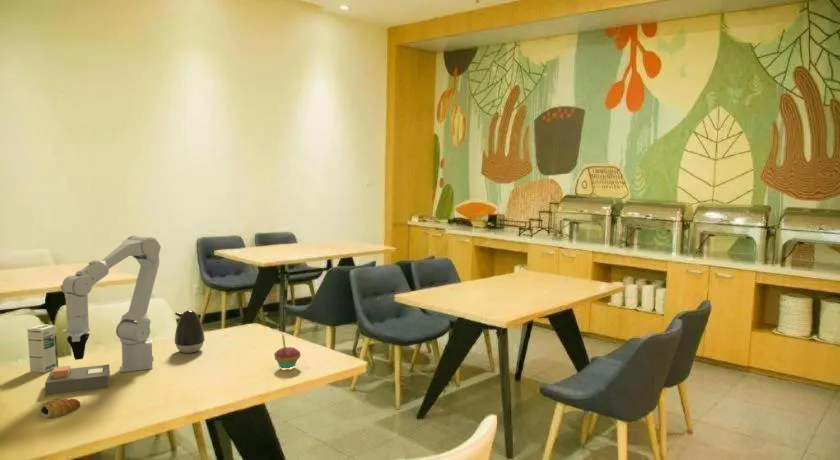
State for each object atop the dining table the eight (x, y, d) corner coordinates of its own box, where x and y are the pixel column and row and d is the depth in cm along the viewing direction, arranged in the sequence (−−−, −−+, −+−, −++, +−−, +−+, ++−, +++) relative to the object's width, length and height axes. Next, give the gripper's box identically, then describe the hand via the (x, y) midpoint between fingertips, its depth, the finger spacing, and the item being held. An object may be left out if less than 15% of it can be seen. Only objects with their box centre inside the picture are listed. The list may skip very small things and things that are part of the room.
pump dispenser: (183, 346, 221) (182, 306, 219) (209, 347, 219) (209, 307, 218) (168, 354, 211) (167, 313, 209) (195, 356, 209) (194, 314, 208)
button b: (70, 376, 180) (69, 365, 180) (68, 381, 176) (68, 369, 176) (55, 378, 178) (54, 367, 178) (53, 383, 175) (52, 371, 174)
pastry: (72, 403, 167) (72, 391, 166) (86, 409, 163) (85, 396, 163) (37, 415, 159) (36, 401, 158) (50, 421, 155) (49, 407, 155)
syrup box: (44, 373, 190) (42, 329, 189) (29, 371, 191) (26, 328, 190) (58, 367, 196) (56, 324, 194) (43, 365, 197) (41, 323, 195)
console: (109, 376, 188) (109, 364, 187) (107, 388, 178) (107, 375, 178) (51, 383, 181) (50, 370, 181) (45, 396, 171) (45, 382, 171)
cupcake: (269, 370, 196) (269, 335, 195) (284, 362, 204) (284, 329, 203) (291, 374, 193) (290, 338, 192) (305, 366, 201) (305, 332, 199)
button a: (103, 378, 184) (103, 367, 184) (102, 382, 180) (102, 371, 180) (89, 380, 182) (88, 369, 182) (87, 384, 179) (87, 373, 178)
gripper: (64, 310, 182) (66, 353, 184) (59, 321, 169) (60, 367, 171) (90, 309, 185) (92, 350, 187) (87, 319, 172) (88, 364, 174)
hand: (79, 358), depth 179 cm, fingers closed
